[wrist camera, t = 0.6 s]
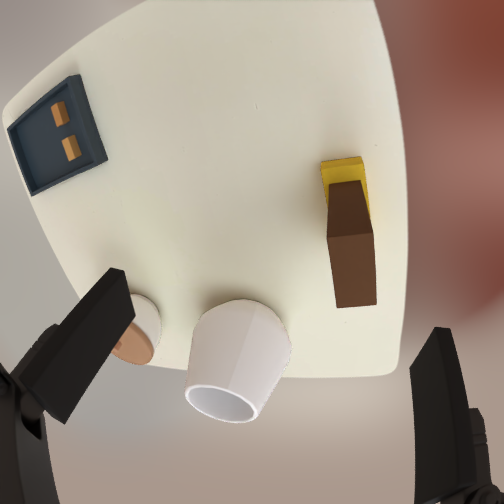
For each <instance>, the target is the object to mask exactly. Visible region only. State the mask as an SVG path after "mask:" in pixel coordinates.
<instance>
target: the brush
mask: <svg viewBox="0 0 504 504" xmlns="http://www.w3.org/2000/svg"><path fill="white" fill-rule="evenodd" d="M321 175H322V180H323V185H324V190H325V196H326V201H327V207H328V221H327V243H328V250H329V256H330V262H331V269H332V276H333V283H334V291H335V298H336V306H337V308H347V307H359V306H370V305H376V304H377V298H376V267H375V250H374V235H373V229H372V225H371V220H370V210H369V201H368V192H367V184H366V176H365V169H364V163H363V161H362V158H361V157H354V158H346V159H339V160H331V161H324V162H321Z"/></svg>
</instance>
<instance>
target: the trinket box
mask: <svg viewBox="0 0 504 504" xmlns="http://www.w3.org/2000/svg"><path fill="white" fill-rule="evenodd" d="M130 296H131V299H132V303H133V307H134V310H135V314H136V316H135V318H134V319H133V321H132V322H131V324H130V325H129V326H128V328H127V329H126V331H125V332H124V334H123V335H122V337H121V338H120V340H119V341H118V342H117V344H116V345H115V347H114V348H113V350H112V351H111V353H112V354H114V355H115V356H117V357H118V358H120V359H122V360H124V361H126V362H129V363H132V364H137V365H144V364H147V363H149V362H150V360H151V359H152V357H153V354H154V352H155V350H156V348H157V346H158V344H159V341H160V338H161V334H162V323H161V319H160V316H159V311H158V309H157V307H156V306H155V305H154V303H153V302H152V301H150V300H149V299H148V298H146V297H144V296H142V295H139V294H130Z"/></svg>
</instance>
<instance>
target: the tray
mask: <svg viewBox="0 0 504 504" xmlns="http://www.w3.org/2000/svg"><path fill="white" fill-rule="evenodd" d="M62 101H64V103H65V107H66V110H67V113H68V116H69V119H70V121H69V122H67V123H66V124H64V125H62V126H59V127H57V126H56V122H55V119H54V116H53V113H52V110H51V107H52V106H53V105H54V104H56V103H58V102H62ZM7 131H8V134H9V138H10V141H11V144H12V147H13V150H14V153H15V156H16V158H17V161H18V164H19V167H20V169H21V172H22V175H23V177H24V180H25V182H26V185H27V187H28V190H29V192H30V194H31V197H32V196H34V195H36V194H38V193H40V192H42V191H44V190H46V189H48V188H50V187H52V186H54V185H56V184H58V183H60V182H62V181H64V180H67V179H69V178H71V177H73V176H75V175H77V174H80V173H82V172H84V171H86V170H89V169H91V168H93V167H95V166H98V165H100V164H102V163H104V162H105V161H107V160H108V158H107V155H106V152H105V150H104V147H103V144H102V141H101V138H100V136H99V133H98V130H97V127H96V124H95V121H94V118H93V115H92V112H91V109H90V106H89V103H88V99H87V96H86V93H85V90H84V86H83V83H82V79H81V76H80V75H74V76H69V77H67V78H66V79H65V80H63V81H62V82H61V83H59V84H58V85H57V86H55V87H54V88H53V89H52V90H50V91H49V92H48V93H47V94H45V95H44V96H43V97H42V98H40V99H39V100H38V101H37V102H36V103H35V104H33V105H32V106H31V107H30V108H29V109H28V110H27V111H25V112H24V113H23V114H22V115H21V116H20V117H19V118H18V119H17V120H16V121H15V122H13V123H12V124H11V125H10V126H9V127H8V128H7ZM72 135H75V137H76V140H77V143H78V145H79V148H80V151H81V154H82V155H81V156H79V157H77V158H75V159H73V160H71V161H69V160H68V157H67V154H66V152H65V149H64V146H63V143H62V140H64V139H66V138H67V137H70V136H72Z"/></svg>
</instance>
